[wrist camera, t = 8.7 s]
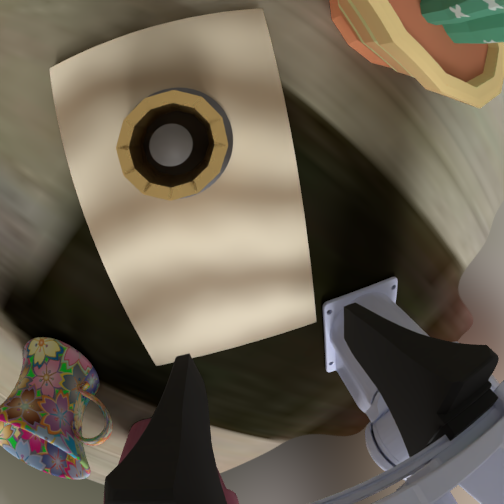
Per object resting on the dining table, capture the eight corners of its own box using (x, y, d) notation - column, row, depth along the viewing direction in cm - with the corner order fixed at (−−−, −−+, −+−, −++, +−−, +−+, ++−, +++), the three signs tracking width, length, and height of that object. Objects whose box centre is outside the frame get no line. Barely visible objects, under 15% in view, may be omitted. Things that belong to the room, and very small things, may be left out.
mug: (56, 397, 23) (37, 473, 13) (8, 334, 19) (-34, 413, 9) (144, 386, 24) (141, 482, 14) (98, 313, 20) (63, 421, 10)
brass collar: (226, 172, 17) (236, 183, 13) (146, 194, 16) (134, 212, 12) (208, 92, 14) (214, 80, 11) (125, 116, 14) (106, 111, 10)
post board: (311, 313, 24) (336, 352, 19) (157, 356, 23) (154, 402, 18) (258, 14, 14) (281, -19, 9) (56, 71, 12) (19, 57, 8)
